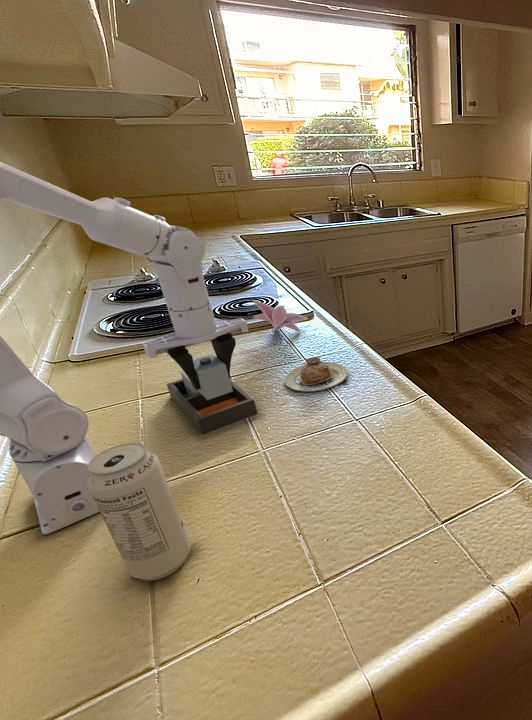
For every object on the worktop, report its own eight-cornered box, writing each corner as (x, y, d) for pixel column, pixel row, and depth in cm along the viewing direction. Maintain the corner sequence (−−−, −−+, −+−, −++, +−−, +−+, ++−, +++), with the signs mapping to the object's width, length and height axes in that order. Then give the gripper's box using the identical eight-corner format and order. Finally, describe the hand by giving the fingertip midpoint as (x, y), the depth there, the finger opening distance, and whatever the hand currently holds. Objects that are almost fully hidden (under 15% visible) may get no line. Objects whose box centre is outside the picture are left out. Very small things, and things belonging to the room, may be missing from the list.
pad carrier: (258, 416, 80) (254, 399, 79) (203, 437, 75) (197, 420, 73) (222, 383, 91) (217, 367, 89) (171, 399, 85) (166, 383, 83)
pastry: (280, 375, 94) (276, 354, 92) (340, 362, 99) (337, 342, 97) (291, 401, 84) (286, 379, 82) (355, 385, 90) (353, 364, 88)
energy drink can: (203, 542, 56) (166, 440, 49) (170, 586, 50) (123, 478, 44) (156, 539, 56) (112, 438, 49) (118, 583, 51) (63, 475, 44)
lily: (315, 343, 110) (314, 303, 111) (269, 340, 100) (268, 296, 101) (285, 347, 117) (285, 309, 118) (239, 345, 107) (239, 304, 108)
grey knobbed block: (233, 391, 77) (224, 361, 75) (207, 400, 75) (198, 369, 72) (219, 379, 81) (211, 350, 78) (194, 387, 78) (185, 357, 76)
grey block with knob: (222, 398, 84) (214, 371, 82) (198, 407, 82) (190, 379, 79) (210, 387, 88) (203, 361, 86) (187, 395, 85) (179, 368, 83)
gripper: (228, 289, 78) (246, 360, 84) (127, 310, 69) (155, 389, 75) (245, 298, 74) (263, 373, 80) (139, 322, 65) (168, 405, 71)
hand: (212, 382), depth 77 cm, fingers closed on grey knobbed block, 4 cm apart
